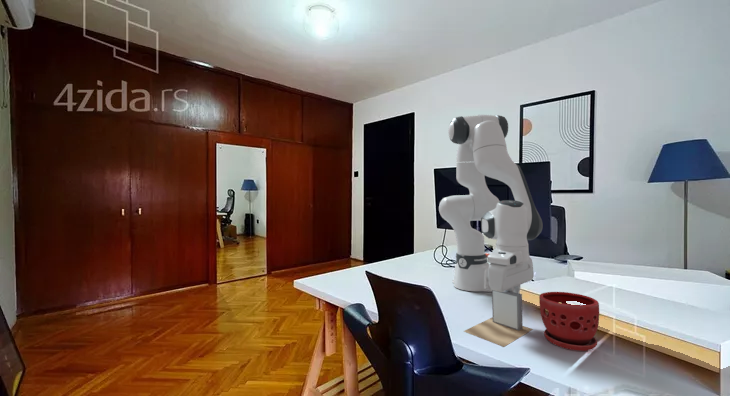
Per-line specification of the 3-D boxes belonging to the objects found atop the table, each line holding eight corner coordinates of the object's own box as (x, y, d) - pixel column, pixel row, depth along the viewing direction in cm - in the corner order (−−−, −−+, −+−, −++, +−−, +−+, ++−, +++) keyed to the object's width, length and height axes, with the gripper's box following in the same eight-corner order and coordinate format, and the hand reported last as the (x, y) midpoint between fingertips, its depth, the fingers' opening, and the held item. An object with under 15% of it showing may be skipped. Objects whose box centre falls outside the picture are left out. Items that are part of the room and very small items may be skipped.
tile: (496, 320, 95) (495, 287, 95) (522, 328, 89) (521, 294, 89) (492, 322, 94) (491, 289, 94) (518, 330, 88) (518, 295, 88)
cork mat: (493, 318, 98) (493, 316, 98) (533, 331, 89) (533, 329, 89) (463, 333, 88) (463, 331, 88) (503, 349, 79) (503, 346, 79)
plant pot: (610, 346, 79) (609, 299, 79) (581, 361, 73) (580, 309, 72) (558, 328, 90) (557, 287, 90) (529, 338, 84) (528, 294, 84)
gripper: (518, 248, 102) (519, 290, 102) (483, 257, 90) (485, 305, 90) (538, 251, 97) (539, 295, 97) (505, 260, 85) (506, 311, 85)
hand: (513, 300), depth 93 cm, fingers closed
